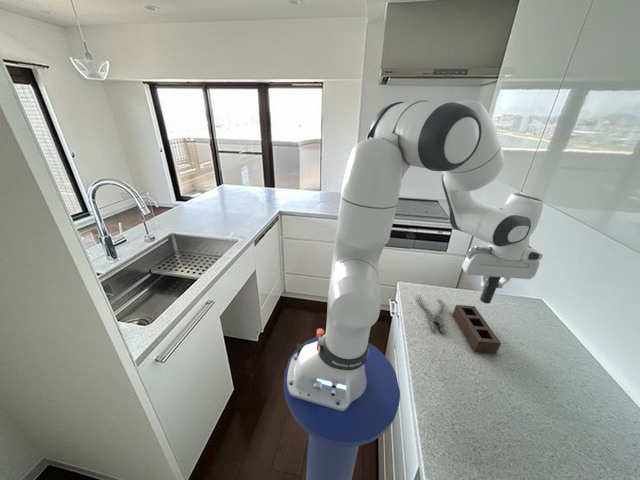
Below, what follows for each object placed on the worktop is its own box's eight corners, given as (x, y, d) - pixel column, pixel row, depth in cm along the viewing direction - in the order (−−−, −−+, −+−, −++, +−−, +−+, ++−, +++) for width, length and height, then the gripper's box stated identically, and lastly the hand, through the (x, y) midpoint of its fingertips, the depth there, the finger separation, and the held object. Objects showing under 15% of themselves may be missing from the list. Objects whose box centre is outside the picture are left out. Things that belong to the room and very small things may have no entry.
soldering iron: (482, 303, 82) (498, 263, 76) (478, 297, 85) (493, 258, 79) (492, 303, 82) (509, 264, 76) (487, 298, 85) (503, 259, 79)
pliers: (439, 296, 107) (461, 332, 89) (438, 298, 108) (461, 334, 90) (416, 295, 107) (434, 330, 89) (415, 296, 108) (433, 332, 90)
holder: (474, 352, 83) (479, 341, 81) (452, 314, 99) (456, 304, 97) (495, 354, 83) (501, 343, 81) (470, 316, 99) (474, 306, 97)
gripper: (475, 250, 73) (461, 290, 79) (549, 255, 72) (529, 295, 78) (465, 241, 79) (453, 278, 85) (534, 245, 78) (516, 283, 84)
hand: (490, 286), depth 81 cm, fingers closed on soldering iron, 3 cm apart
